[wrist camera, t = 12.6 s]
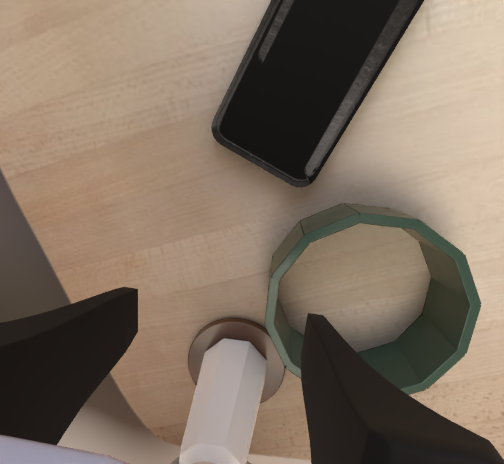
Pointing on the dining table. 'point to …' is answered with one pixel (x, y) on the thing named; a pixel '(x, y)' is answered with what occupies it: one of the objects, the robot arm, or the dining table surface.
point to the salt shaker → (224, 405)
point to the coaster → (243, 332)
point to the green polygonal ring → (421, 331)
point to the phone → (307, 80)
